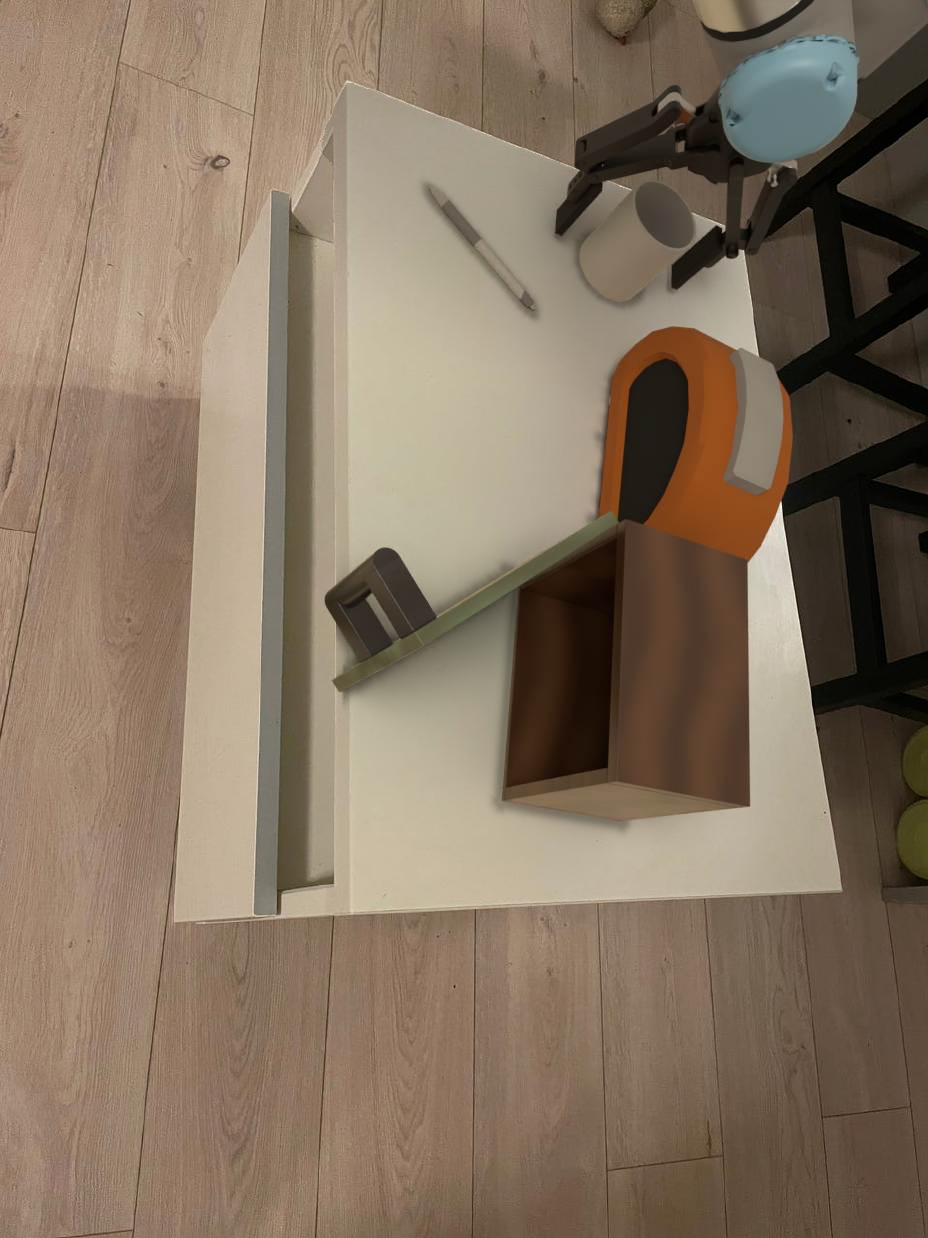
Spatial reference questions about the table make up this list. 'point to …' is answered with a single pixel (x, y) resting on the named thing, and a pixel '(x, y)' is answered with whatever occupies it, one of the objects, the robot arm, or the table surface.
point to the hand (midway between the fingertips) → (618, 251)
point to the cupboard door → (421, 602)
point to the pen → (481, 247)
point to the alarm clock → (697, 441)
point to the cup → (637, 240)
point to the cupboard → (631, 680)
